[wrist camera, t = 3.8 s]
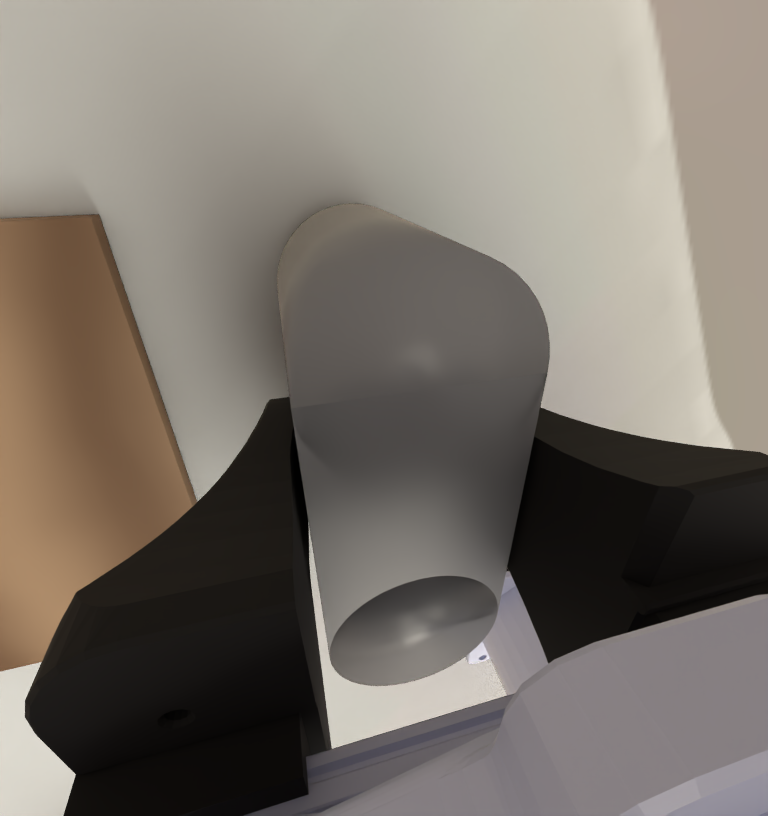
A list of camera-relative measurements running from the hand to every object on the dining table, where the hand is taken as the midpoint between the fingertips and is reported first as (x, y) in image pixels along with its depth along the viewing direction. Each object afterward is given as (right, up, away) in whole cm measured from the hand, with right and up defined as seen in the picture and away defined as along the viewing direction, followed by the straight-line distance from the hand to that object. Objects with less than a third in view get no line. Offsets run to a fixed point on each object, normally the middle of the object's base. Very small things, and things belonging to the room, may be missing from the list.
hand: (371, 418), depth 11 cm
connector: (0, +1, +1) cm, 2 cm away
